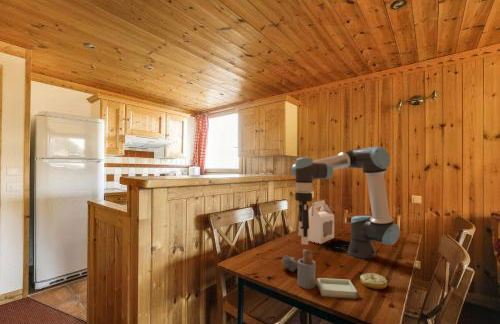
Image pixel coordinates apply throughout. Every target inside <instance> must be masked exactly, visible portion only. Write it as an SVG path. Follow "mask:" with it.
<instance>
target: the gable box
mask: <svg viewBox="0 0 500 324" xmlns="http://www.w3.org/2000/svg"><path fill="white" fill-rule="evenodd" d="M311 204H312V206H310V208H308V215H309V228H308V242H310V241H311V242H310V243H314V242H315V244H318V243H319V245H322V244H324V243H326V242H328V241H330V240H332V239H334V238H335V214H334V213H333V211H332V210H331V208H330V207H329V205H328V204H327V203H326V201H325V200H324V199H322V200H317V201H313V203H311ZM318 208H319V210H318Z"/></svg>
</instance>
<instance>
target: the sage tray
mask: <svg viewBox="0 0 500 324" xmlns="http://www.w3.org/2000/svg"><path fill="white" fill-rule="evenodd" d="M316 284H317V286H318V289H319V292H320V295H321V297H327V298H328V297H329V298H344V299H345V298H346V299H358V297H359V294H358V293H359V292H358V291H357V289H356V287H355V286H354V284H353V283H352V282H351V279H342V278H326V277H317V279H316Z"/></svg>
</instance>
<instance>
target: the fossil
mask: <svg viewBox="0 0 500 324" xmlns="http://www.w3.org/2000/svg"><path fill="white" fill-rule="evenodd" d="M297 262H298V261H297V258H296V257H294V256H290V255H288V254H285V255H284V256H282V258H281V263H282V265H283V267H284V268H285V269H287V270H288V271H289V272H295V271H296V270H297Z"/></svg>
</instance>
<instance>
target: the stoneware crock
mask: <svg viewBox="0 0 500 324" xmlns="http://www.w3.org/2000/svg"><path fill="white" fill-rule="evenodd" d="M296 262H297V269H296V270H297V271H296V272H297V276H296V277H297V280H296V282H297V285H298V286H299V287H300V288H302V289H314V288H315V287H316V261H315V260H313V259H312V264H303V258H299V259H298V260H297V261H296Z"/></svg>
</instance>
